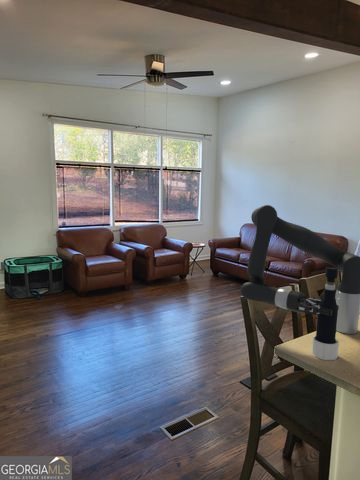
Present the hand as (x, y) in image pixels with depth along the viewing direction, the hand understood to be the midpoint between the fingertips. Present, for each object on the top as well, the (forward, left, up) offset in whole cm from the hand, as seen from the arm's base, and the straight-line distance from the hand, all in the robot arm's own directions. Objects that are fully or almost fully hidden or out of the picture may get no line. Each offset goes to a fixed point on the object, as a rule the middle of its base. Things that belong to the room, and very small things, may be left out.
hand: (334, 310), depth 121 cm
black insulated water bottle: (0, -2, -15) cm, 15 cm away
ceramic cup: (0, -2, -17) cm, 17 cm away
